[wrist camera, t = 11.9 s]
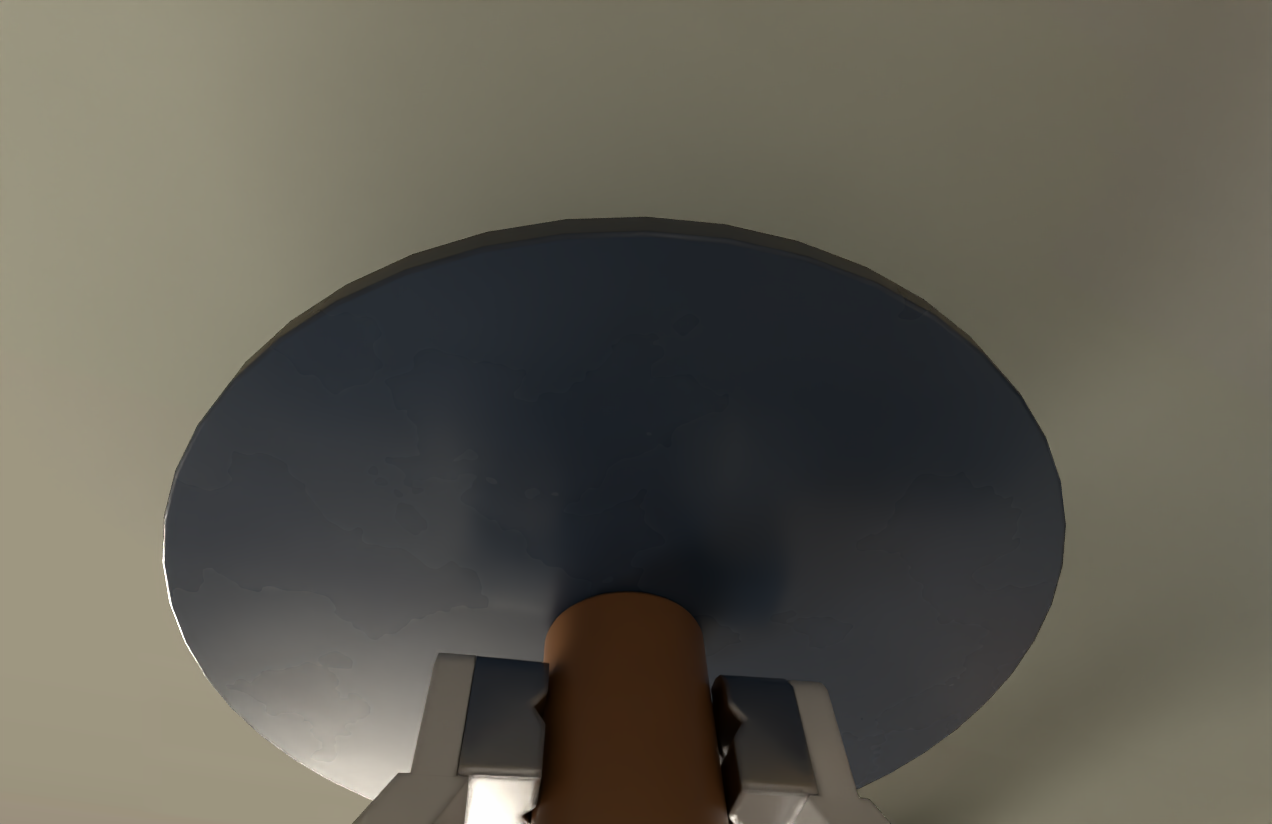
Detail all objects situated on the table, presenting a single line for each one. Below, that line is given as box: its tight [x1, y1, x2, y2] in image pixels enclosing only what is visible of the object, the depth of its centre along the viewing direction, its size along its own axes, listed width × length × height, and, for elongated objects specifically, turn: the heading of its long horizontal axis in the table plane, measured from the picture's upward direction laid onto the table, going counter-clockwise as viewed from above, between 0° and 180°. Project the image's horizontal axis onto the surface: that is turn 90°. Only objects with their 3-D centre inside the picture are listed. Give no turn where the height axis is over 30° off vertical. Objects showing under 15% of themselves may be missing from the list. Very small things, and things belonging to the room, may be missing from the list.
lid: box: [162, 217, 1066, 824], centre depth 10 cm, size 13×13×5 cm
